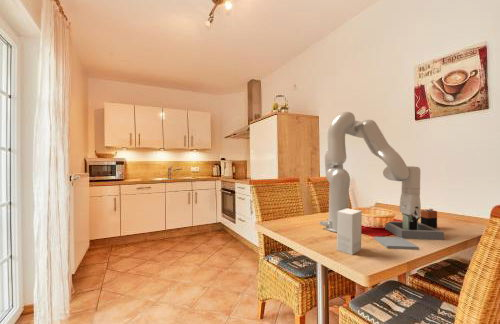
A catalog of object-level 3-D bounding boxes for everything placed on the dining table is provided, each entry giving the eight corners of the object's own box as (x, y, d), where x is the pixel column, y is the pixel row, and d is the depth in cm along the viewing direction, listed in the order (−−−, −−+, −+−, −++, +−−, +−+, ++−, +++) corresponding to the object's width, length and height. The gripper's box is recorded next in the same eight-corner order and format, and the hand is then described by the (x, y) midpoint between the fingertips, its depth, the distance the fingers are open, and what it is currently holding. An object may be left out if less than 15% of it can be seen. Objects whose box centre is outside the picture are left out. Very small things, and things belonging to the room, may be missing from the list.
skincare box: (346, 245, 97) (346, 208, 97) (362, 250, 92) (363, 210, 92) (336, 250, 91) (336, 210, 91) (352, 255, 86) (353, 213, 86)
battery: (437, 228, 125) (437, 209, 125) (428, 229, 123) (428, 210, 123) (429, 226, 129) (429, 208, 129) (420, 227, 127) (420, 208, 127)
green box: (407, 233, 113) (408, 216, 113) (402, 230, 118) (402, 214, 118) (417, 233, 113) (417, 216, 113) (411, 230, 117) (412, 214, 117)
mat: (387, 248, 94) (387, 245, 94) (374, 238, 106) (374, 236, 106) (418, 249, 93) (418, 246, 93) (401, 239, 105) (401, 237, 105)
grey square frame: (401, 238, 107) (401, 230, 107) (382, 227, 125) (382, 221, 125) (443, 239, 105) (443, 232, 105) (418, 228, 123) (418, 222, 123)
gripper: (393, 189, 124) (393, 223, 124) (413, 193, 107) (412, 233, 107) (408, 189, 123) (407, 224, 123) (430, 193, 107) (429, 234, 107)
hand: (409, 228), depth 115 cm, fingers closed on green box, 4 cm apart
